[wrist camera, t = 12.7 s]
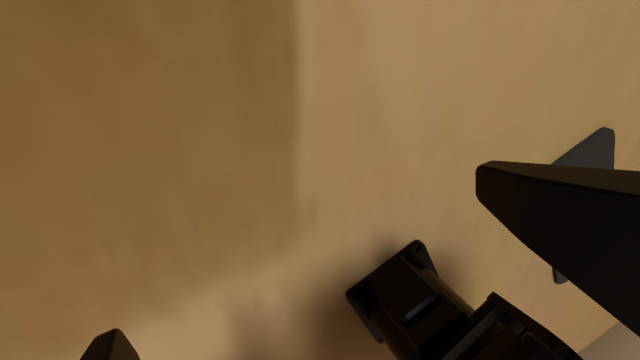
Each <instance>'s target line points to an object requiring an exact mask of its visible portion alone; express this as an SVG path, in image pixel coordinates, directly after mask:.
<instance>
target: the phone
mask: <svg viewBox="0 0 640 360" xmlns="http://www.w3.org/2000/svg"><path fill="white" fill-rule="evenodd" d="M614 148H615V133H614V131H613V130H612V129H609V128H606V127H603V128H600V129H598V130H597V131H595V132H594V133H593V134H591V135H590V136H589V137H587V138H586V139H584V140H583V141H582V142H580V143H579V144H577V145H576V146H575V147H573V148H572V149H571V150H569V151H568V152H567V153H565V154H564V155H562V156H561V157H560V158H558V159H557V160H556V161H554V162H553V163H552V164H551V165H562V166H575V167H589V168H603V169H614ZM552 270H553V278H554V281H555V282H557V283H558V284H563V283H565V282H566V281H568V279H567V278H566V277H564V276H563V275H562V274H561V273H559V272H558V271H557V270H556V269H554V268H553V267H552Z"/></svg>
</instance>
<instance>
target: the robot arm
mask: <svg viewBox="0 0 640 360" xmlns="http://www.w3.org/2000/svg"><path fill="white" fill-rule="evenodd" d="M476 196H477V198H478V200H479V201H480V202H481V203H482V204H483V205H484V206H485V207H486V208H487V209H488V210H489V211H490V212H491V213H492V214H493V215H494V216H495V217H496V218H497V219H498V220H499V221H500V222H501V223H502V224H503V225H504V226H505V227H506V228H507V229H508V230H509V231H510V232H511V233H512V234H513V235H515V236H516V237H517V238H518V239H519V240H520V241H521V242H522V243H523V244H525V245H526V246H527V247H528V248H529V249H531V250H532V251H533V252H534V253H536V254H537V255H538V256H539V257H541V258H542V259H543V260H544V261H546V262H547V263H548V264H549V265H551V266H552V267H553V268H554V269H556V270H557V271H558V272H559V273H561V274H562V275H563V276H564V277H566V278H567V279H568V280H569V281H570V282H572V283H573V284H574V285H575V286H577V287H578V288H579V289H580V290H582V291H583V292H584V293H585V294H587V295H588V296H589V297H590V298H592V299H593V300H594V301H595V302H597V303H598V304H599V305H600V306H602V307H603V308H604V309H605V310H607V311H608V312H609V313H610V314H612V315H613V316H614V317H615V318H616V319H618V320H619V321H620V322H621V323H623V324H624V325H625V326H627V327H628V328H629V329H630V330H632V331H633V332H634V333H635V334H636V335H638V336H639V337H640V171H630V170H616V169H603V168H589V167H575V166H562V165H548V164H534V163H521V162H507V161H488V162H486V163H484V164H481V165H479V166H478V167H477V169H476ZM353 295H354V296H353ZM346 298H347V300H348V301H349V302H350V304H351V305H352V307H353V308H354V310H355V311H356V312H357V314H358V315H359V317H360V318H361V320H362V321H363V322H364V324H365V325H366V327H367V328H368V329H369V331H370V332H371V334H372V335H373V337H374V338H375V339H376V341H377V342H378V343H384V342H385V343H386V345H387V346H388V347H389V349H390V350H391V352H392V353H393V354H394V356H395V357H396V359H397V360H583V359H582V358H581V357H580V356H579V355H578V354H577V353H576V352H575V351H574V350H572V349H571V348H570V347H569V346H568V345H567V344H565V343H564V342H563V341H562V340H561V339H559V338H558V337H557V336H556V335H554V334H553V333H552V332H550V331H549V330H548V329H546V328H545V327H543V326H542V325H540V324H539V323H538V322H536V321H535V320H533V319H532V318H530V317H529V316H528V315H526V314H525V313H523V312H522V311H520V310H519V309H518V308H516V307H515V306H513V305H512V304H510V303H509V302H507V301H506V300H505V299H503V298H502V297H500V296H499V295H497V294H496V293H495V292H492V293H491V294H490V295H489V296H488V297H487V300H486V301H485V302H484V303H483V304H482V305H481V306H480V307H479V308H478V309H477V310H476V311H475V310H474V309H473V308H472V307H471V306H469V305H468V304H467V303H466V302H465V301H464V300H463V299H462V298H461V297H460V296H459V295H457V294H456V293H455V292H454V291H453V290H452V289H451V288H450V287H449V286H448V285H446V284H445V283H444V282H443V281H442V280H441V279H440V278H439V276H438V274H437V272H436V270H435V267H434V265H433V263H432V261H431V258H430V256H429V254H428V251H427V249H426V247H425V245H424V244H423V243H422V242H421V241H420V240H415V241H413V242H412V243H410V244H409V245H408V246H406V247H405V248H404V249H402V250H401V251H400V252H399V253H397V254H396V255H395V256H393V257H392V258H391V259H389V260H388V261H387V262H385V263H384V264H383V265H381V266H380V267H379V268H377V269H376V270H375V271H373V272H372V273H371V274H369V275H368V276H367V277H365V278H364V279H363V280H361V281H360V282H359V283H357V284H356V285H355V286H353V287H352V288H351V289H349V290H348V291H347V293H346ZM80 360H140V358H139V356H138V354H137V352H136V350H135V349H134V348H133V346H132V345H131V343H130V342H129V341H128V339H127V338H126V336H125V335H124V334H123V332H122V331H121V330H119V329H116V328H115V329H112V330H110V331H107V332H105V333H103V334H101V335H99V336H97V337H95V338H94V340H93V341H92V342H91V344H90V345H89V347H88V348H87V350H86V351H85V353H84V354H83V355H82V357H81V358H80Z"/></svg>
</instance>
